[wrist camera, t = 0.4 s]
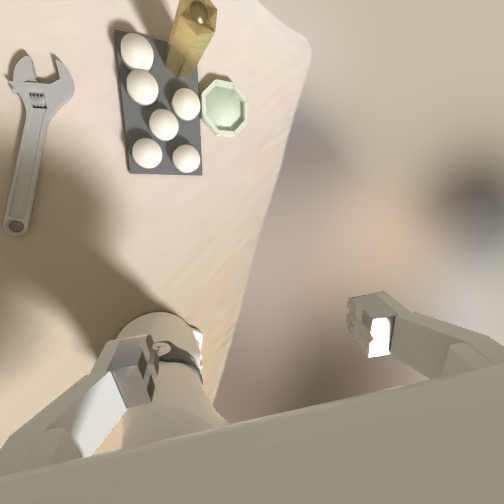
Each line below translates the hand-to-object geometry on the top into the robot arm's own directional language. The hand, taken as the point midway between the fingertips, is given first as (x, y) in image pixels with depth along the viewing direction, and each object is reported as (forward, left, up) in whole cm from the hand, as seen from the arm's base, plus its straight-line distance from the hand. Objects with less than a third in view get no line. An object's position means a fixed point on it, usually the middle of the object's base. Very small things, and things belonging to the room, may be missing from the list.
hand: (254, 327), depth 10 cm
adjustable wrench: (+12, +16, -41) cm, 45 cm away
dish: (+20, -13, -40) cm, 47 cm away
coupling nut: (+26, -6, -39) cm, 47 cm away
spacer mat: (+19, -3, -40) cm, 44 cm away
